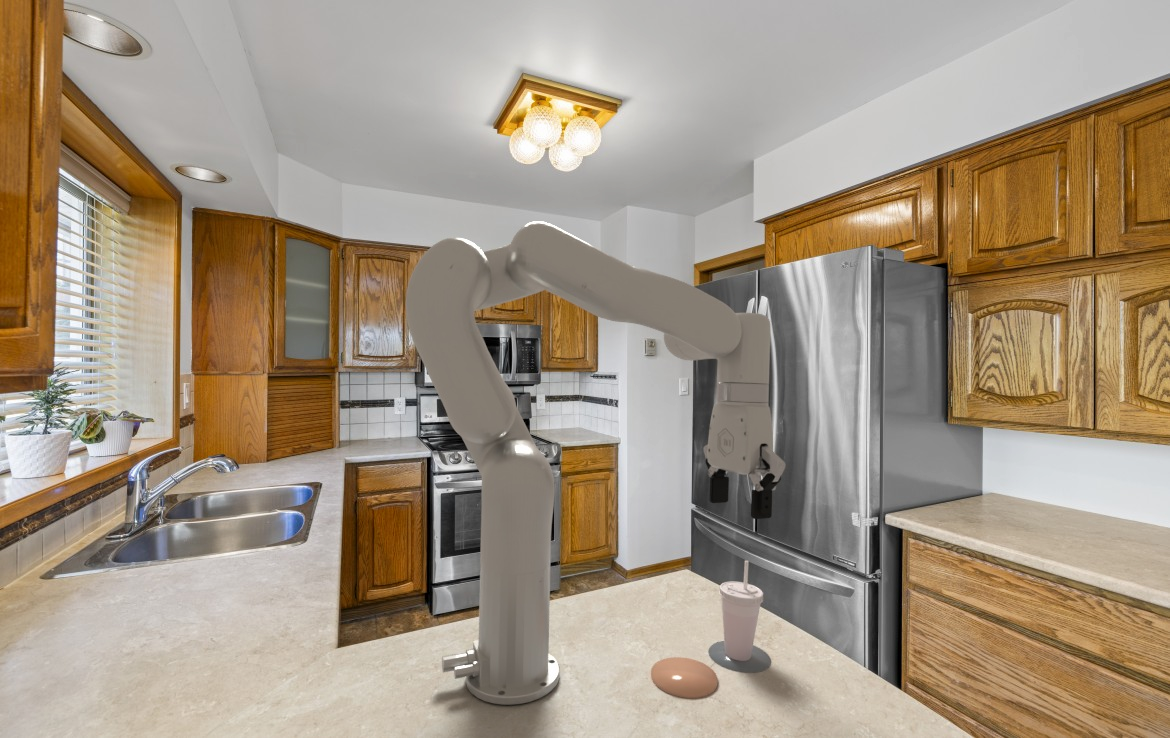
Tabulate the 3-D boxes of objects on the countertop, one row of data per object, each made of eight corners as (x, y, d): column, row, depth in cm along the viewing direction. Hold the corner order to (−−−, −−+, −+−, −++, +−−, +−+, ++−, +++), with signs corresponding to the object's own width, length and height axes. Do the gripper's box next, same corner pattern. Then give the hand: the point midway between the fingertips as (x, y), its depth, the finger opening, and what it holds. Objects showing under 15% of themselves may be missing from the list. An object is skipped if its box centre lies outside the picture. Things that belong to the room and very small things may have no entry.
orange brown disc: (672, 706, 66) (672, 700, 66) (639, 669, 74) (639, 663, 74) (731, 692, 69) (731, 686, 69) (693, 658, 78) (693, 652, 78)
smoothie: (763, 669, 74) (768, 570, 75) (717, 662, 76) (722, 565, 76) (757, 646, 81) (761, 556, 81) (714, 640, 82) (719, 551, 82)
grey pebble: (783, 676, 74) (783, 670, 74) (723, 680, 73) (723, 675, 73) (753, 644, 83) (753, 639, 83) (699, 647, 82) (699, 642, 82)
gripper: (688, 393, 85) (685, 498, 85) (762, 397, 69) (758, 527, 69) (726, 394, 88) (723, 496, 88) (805, 398, 72) (801, 523, 72)
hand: (738, 509), depth 78 cm, fingers open, 9 cm apart
